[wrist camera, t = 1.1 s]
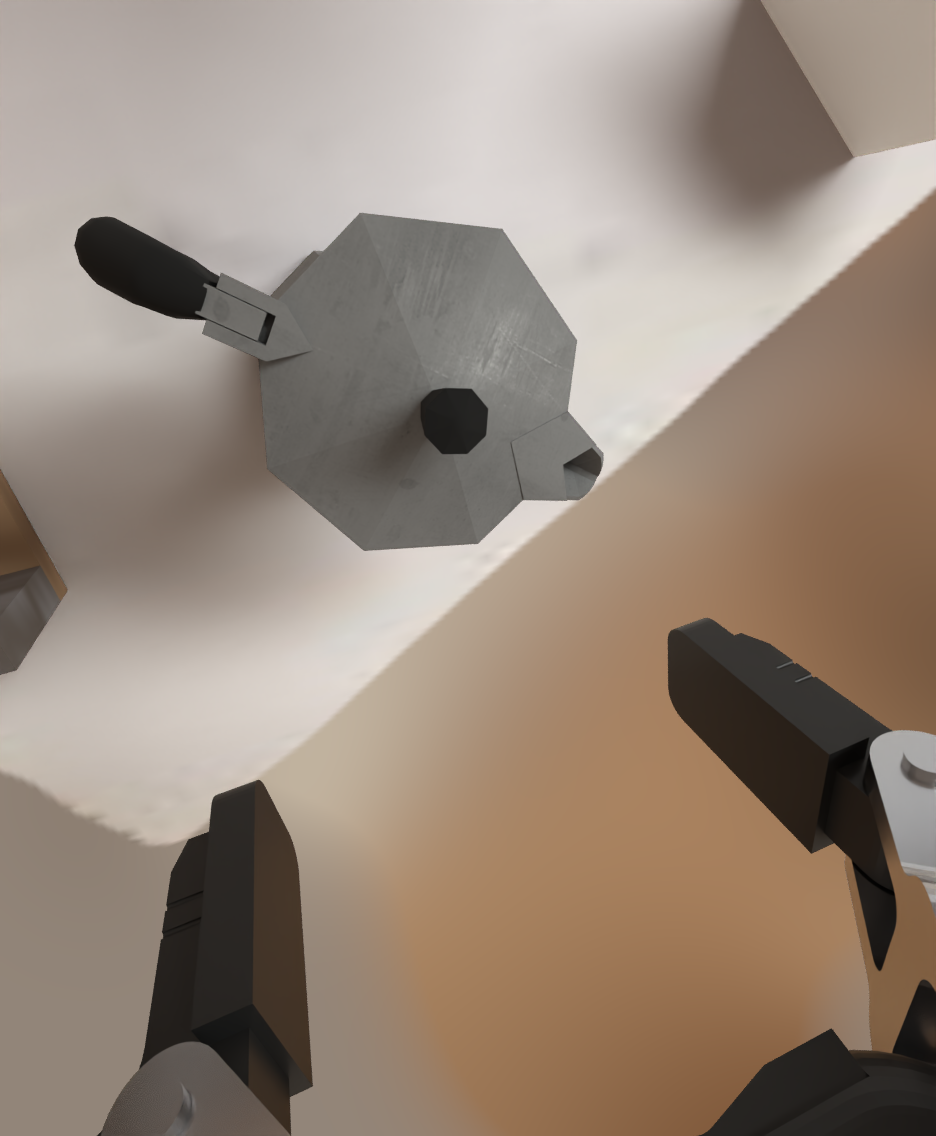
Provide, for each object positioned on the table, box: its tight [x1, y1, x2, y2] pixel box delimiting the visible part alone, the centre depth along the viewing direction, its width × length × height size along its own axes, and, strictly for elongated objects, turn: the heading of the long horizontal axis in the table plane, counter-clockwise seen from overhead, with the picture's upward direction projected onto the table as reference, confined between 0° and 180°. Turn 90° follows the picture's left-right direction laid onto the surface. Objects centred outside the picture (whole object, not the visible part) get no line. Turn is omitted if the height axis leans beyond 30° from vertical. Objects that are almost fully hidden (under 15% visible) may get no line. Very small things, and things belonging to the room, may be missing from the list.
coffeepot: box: [74, 213, 603, 551], centre depth 21 cm, size 15×9×18 cm, turn 64°
